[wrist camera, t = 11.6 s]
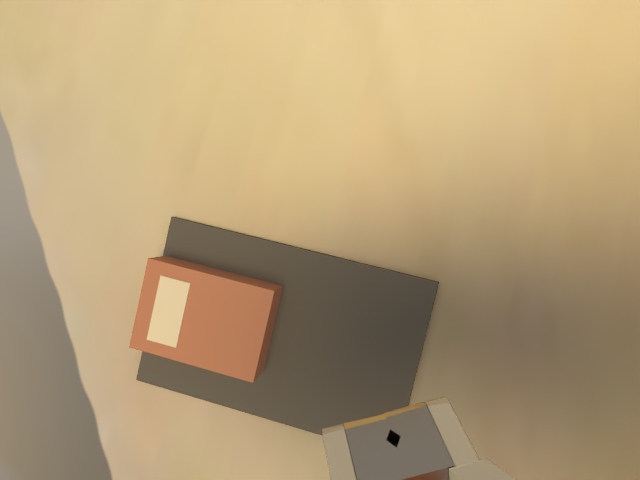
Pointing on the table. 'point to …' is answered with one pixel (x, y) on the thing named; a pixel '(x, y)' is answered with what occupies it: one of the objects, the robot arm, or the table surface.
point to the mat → (309, 333)
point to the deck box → (206, 317)
